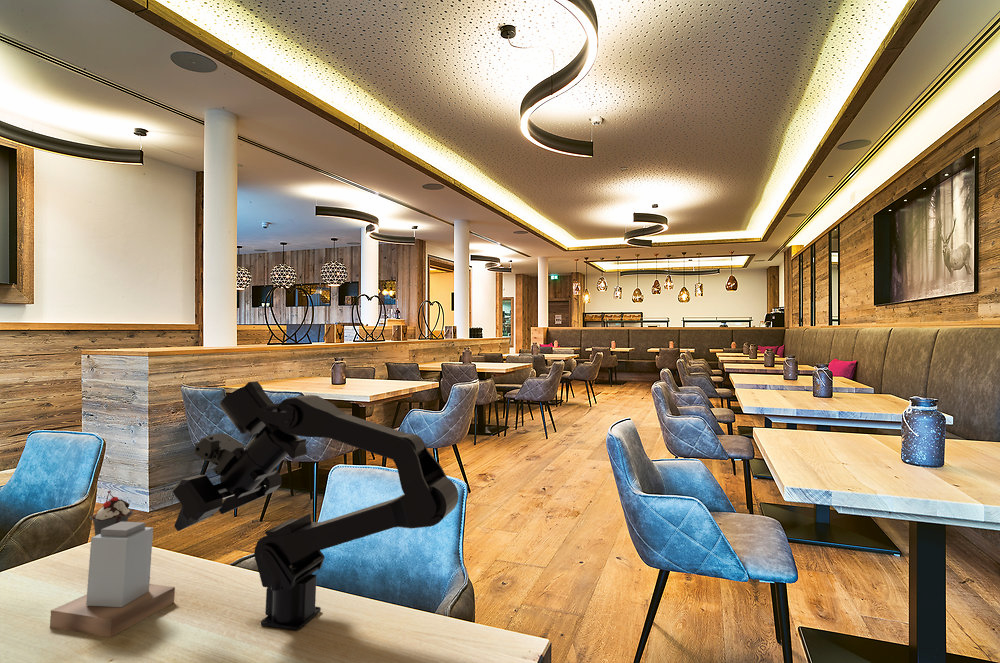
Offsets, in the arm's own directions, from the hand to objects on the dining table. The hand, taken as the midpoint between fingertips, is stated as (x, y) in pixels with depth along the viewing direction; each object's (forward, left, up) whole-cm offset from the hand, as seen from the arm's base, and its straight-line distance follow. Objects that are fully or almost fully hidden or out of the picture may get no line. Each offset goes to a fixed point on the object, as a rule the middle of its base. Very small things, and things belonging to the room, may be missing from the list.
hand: (199, 519), depth 85 cm
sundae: (+27, -8, -14) cm, 31 cm away
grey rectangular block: (+9, +6, -11) cm, 15 cm away
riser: (+10, +6, -14) cm, 18 cm away
